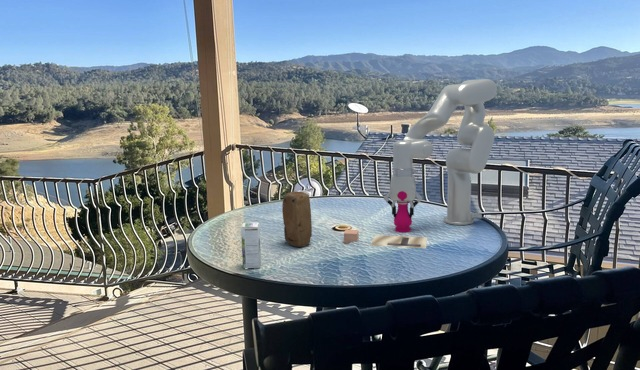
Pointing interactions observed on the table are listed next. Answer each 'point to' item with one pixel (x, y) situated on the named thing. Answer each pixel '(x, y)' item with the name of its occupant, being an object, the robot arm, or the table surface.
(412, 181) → the robot arm
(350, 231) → the block
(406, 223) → the pepper mill
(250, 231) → the syrup box
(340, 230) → the table surface
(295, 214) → the block
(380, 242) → the board
